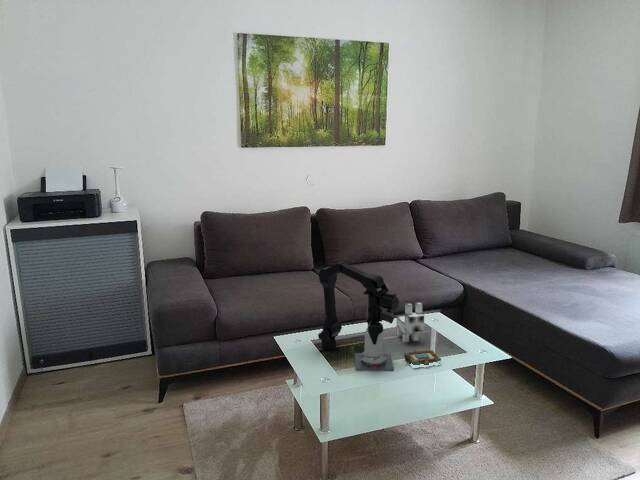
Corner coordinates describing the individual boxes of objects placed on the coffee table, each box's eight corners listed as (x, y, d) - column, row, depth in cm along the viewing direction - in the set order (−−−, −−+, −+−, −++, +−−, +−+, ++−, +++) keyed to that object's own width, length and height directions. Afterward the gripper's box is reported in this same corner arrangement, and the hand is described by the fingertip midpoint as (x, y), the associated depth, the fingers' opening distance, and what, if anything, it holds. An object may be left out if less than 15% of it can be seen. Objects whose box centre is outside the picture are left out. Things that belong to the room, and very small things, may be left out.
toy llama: (408, 332, 245) (409, 294, 241) (423, 346, 229) (424, 305, 225) (394, 333, 244) (395, 295, 240) (408, 347, 227) (409, 306, 223)
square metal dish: (355, 370, 205) (355, 362, 204) (354, 355, 219) (354, 347, 219) (393, 370, 204) (394, 363, 203) (390, 355, 219) (390, 348, 218)
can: (381, 359, 207) (381, 333, 204) (363, 358, 208) (363, 331, 206) (382, 352, 214) (383, 326, 211) (365, 350, 215) (365, 325, 213)
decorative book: (393, 360, 215) (393, 350, 214) (430, 356, 218) (430, 346, 217) (404, 374, 202) (404, 363, 201) (443, 370, 205) (444, 359, 204)
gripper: (396, 313, 197) (395, 349, 200) (391, 298, 215) (390, 332, 218) (368, 312, 198) (367, 348, 201) (366, 298, 216) (365, 331, 219)
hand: (373, 340), depth 210 cm, fingers open, 9 cm apart
